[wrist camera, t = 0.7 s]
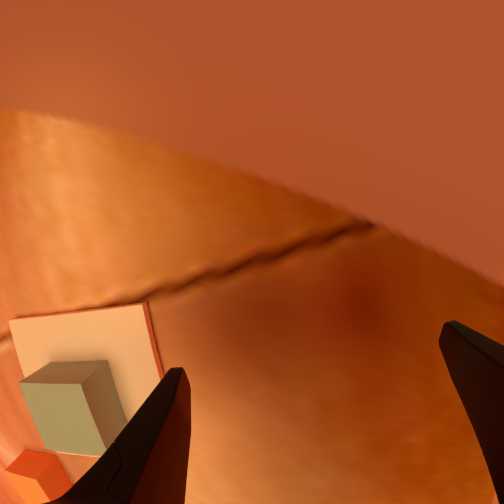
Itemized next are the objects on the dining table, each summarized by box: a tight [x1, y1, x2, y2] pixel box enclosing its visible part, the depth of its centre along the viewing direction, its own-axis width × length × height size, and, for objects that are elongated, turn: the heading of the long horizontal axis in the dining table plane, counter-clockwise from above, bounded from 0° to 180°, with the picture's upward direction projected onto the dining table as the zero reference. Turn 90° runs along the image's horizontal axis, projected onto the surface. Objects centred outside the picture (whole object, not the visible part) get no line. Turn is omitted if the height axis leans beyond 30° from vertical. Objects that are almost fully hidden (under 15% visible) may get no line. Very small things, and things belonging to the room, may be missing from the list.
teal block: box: [19, 360, 128, 456], centre depth 19 cm, size 6×6×5 cm
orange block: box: [5, 450, 73, 504], centre depth 20 cm, size 5×5×5 cm
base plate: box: [8, 302, 164, 457], centre depth 22 cm, size 14×14×1 cm
